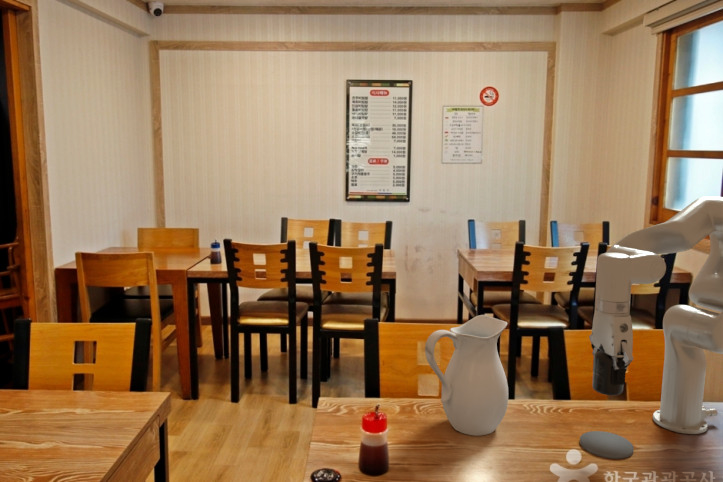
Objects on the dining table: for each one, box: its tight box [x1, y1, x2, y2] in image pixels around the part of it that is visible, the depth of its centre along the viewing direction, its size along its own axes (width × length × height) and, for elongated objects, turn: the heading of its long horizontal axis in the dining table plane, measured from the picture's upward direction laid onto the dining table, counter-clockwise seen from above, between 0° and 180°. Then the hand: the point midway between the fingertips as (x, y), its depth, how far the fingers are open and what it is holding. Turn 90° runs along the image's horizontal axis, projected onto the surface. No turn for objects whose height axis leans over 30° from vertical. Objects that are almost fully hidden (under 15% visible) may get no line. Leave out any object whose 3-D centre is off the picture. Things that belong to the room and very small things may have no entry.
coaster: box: [579, 430, 634, 460], centre depth 141 cm, size 12×12×1 cm
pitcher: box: [424, 314, 509, 437], centre depth 148 cm, size 24×17×28 cm
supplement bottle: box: [592, 343, 624, 396], centre depth 139 cm, size 7×7×12 cm
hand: (608, 377), depth 139 cm, fingers closed on supplement bottle, 6 cm apart
